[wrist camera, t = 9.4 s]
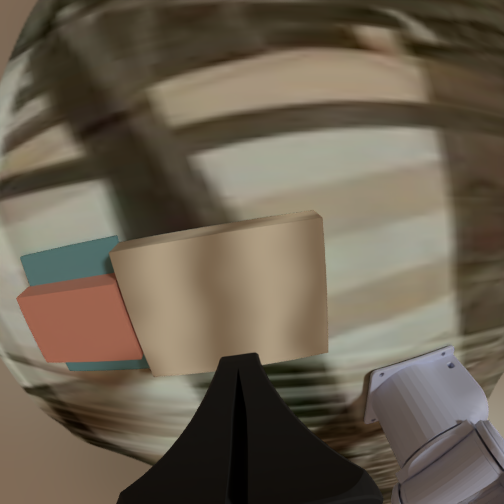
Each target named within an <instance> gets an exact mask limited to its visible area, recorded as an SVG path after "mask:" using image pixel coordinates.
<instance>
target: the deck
mask: <svg viewBox="0 0 504 504" xmlns="http://www.w3.org/2000/svg"><path fill="white" fill-rule="evenodd" d="M109 255H110V259H111V262H112V265H113V269H114V272H115V275H116V278H117V281H118V284H119V287H120V290H121V293H122V296H123V299H124V302H125V305H126V308H127V311H128V314H129V316H130V319H131V322H132V324H133V327H134V330H135V332H136V335H137V337H138V340H139V343H140V345H141V348H142V350H143V352H144V355H145V357H146V360H147V362H148V364H149V367H150V369H151V371H152V374H153V376H154V377H158V376H172V375H184V374H194V373H204V372H213V371H216V369H217V366H218V363H219V360H220V359H221V357H225V356H232V355H239V354H246V353H253V352H256V353H257V354H259V358H260V362H261V364H262V365H264V364H270V363H276V362H282V361H287V360H293V359H298V358H303V357H309V356H314V355H318V354H323V353H328V310H327V284H326V264H325V247H324V233H323V219H322V217H321V216H320V215H319V214H318V213H316V212H315V211H314V210H311V211H304V212H297V213H290V214H284V215H277V216H270V217H264V218H257V219H251V220H244V221H238V222H232V223H226V224H220V225H214V226H208V227H202V228H196V229H190V230H184V231H179V232H173V233H167V234H162V235H156V236H151V237H145V238H140V239H134V240H129V241H124V242H119V243H118V244H117V245H116V246H115V247H114V248H113V249H112V250H111V251H110V252H109Z"/></svg>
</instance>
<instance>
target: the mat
mask: <svg viewBox="0 0 504 504" xmlns="http://www.w3.org/2000/svg"><path fill="white" fill-rule="evenodd" d="M118 243H119V241H118V237H117V236H112V237H107V238H102V239H97V240H92V241H87V242H83V243H78V244H73V245H69V246H64V247H60V248H55V249H51V250H46V251H42V252H37V253H33V254H29V255H25V256H22V257H20V258H21V261H22V264H23V267H24V270H25V273H26V276H27V278H28V281H29V284H30V286H36V285H42V284H48V283H55V282H61V281H67V280H73V279H79V278H85V277H92V276H98V275H104V274H110V273H115V272H114V269H113V265H112V262H111V259H110V255H109V252H110V251H111V250H112V249H113V248H114V247H115V246H116V245H117V244H118ZM65 363H66V364H67V366H68V368H69V370H70V371H97V370H125V369H143V368H150V367H149V364H148V362H147V360H146V357H145V355H144V353H143V356H142V359H137V360H120V361H99V362H65Z"/></svg>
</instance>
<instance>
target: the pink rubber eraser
mask: <svg viewBox="0 0 504 504" xmlns="http://www.w3.org/2000/svg"><path fill="white" fill-rule="evenodd" d="M16 299H17V301H18V304H19V306H20V308H21V311H22V313H23V315H24V317H25V320H26V322H27V324H28V326H29V328H30V330H31V332H32V334H33V336H34V338H35V340H36V342H37V344H38V346H39V348H40V350H41V352H42V354H43V356H44V358H45V359H46V361H47V362H99V361H120V360H137V359H142V356H143V353H144V352H143V350H142V348H141V345H140V343H139V340H138V337H137V335H136V332H135V330H134V327H133V324H132V322H131V319H130V316H129V314H128V311H127V308H126V305H125V302H124V299H123V296H122V293H121V290H120V287H119V284H118V281H117V278H116V275H115V273H110V274H104V275H98V276H92V277H85V278H79V279H73V280H67V281H61V282H55V283H48V284H42V285H36V286H30V287H28V288H27V289H26V290H25V291H23V292H22V293H21V294H20V295H19V296H18V297H17V298H16Z"/></svg>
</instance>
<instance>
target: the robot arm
mask: <svg viewBox="0 0 504 504" xmlns="http://www.w3.org/2000/svg"><path fill="white" fill-rule="evenodd" d="M453 353H454V347H453V346H452V345H450V346H447V347H445V348H442V349H439V350H437V351H434V352H431V353H428V354H425V355H422V356H419V357H416V358H413V359H410V360H407V361H404V362H401V363H398V364H394V365H391V366H388V367H384V368H381V369H377V370H375V371H373V372H372V373H371V375H370V383H369V390H368V397H367V404H366V410H365V416H364V423H365V424H370V423H374V422H377V421H379V423H380V425H381V427H382V429H383V431H384V433H385V435H386V438H387V440H388V442H389V444H390V446H391V448H392V450H393V453H394V455H395V457H396V459H397V461H398V464H399V466H400V468H401V470H400V471H398V472H397V473H396V476H397V479H398V481H399V482H398V483H397V484H396V485H395V486H394V488H393V492H392V497H391V503H392V504H504V439H503V438H502V436H501V435H500V434H499V432H498V431H497V430H496V428H495V427H494V426H493V425H492V423H491V422H490V421H489V420H487V418H488V402H487V399H486V396H485V393H484V391H483V390H482V388H481V387H480V385H479V384H478V383H477V382H476V381H475V379H474V378H473V377H472V376H471V375H470V373H469V372H468V371H467V370H466V369H465V367H464V366H463V365H462V364H461V363H460V362H459V361H458V359H457V358H456V357H455V356H454V355H453ZM382 503H383V496H382V494H381V492H380V490H379V488H378V486H377V485H376V483H375V482H374V481H373V479H372V478H371V477H370V475H369V474H368V473H367V472H366V470H365V469H363V468H361V467H359V466H358V465H356V464H354V463H353V462H351V461H349V460H348V459H346V458H345V457H343V456H342V455H340V454H339V453H337V452H336V451H335V450H333V449H332V448H331V447H329V446H328V445H327V444H326V443H324V442H323V441H322V440H321V439H320V438H318V437H317V436H316V435H315V434H314V433H312V432H311V431H310V430H309V429H308V428H307V427H306V426H305V425H304V424H303V423H302V422H301V421H300V420H299V419H298V417H297V416H296V415H295V414H294V413H293V412H292V411H291V410H290V408H289V407H288V406H287V405H286V403H285V402H284V401H283V399H282V398H281V397H280V395H279V394H278V392H277V391H276V389H275V388H274V386H273V385H272V383H271V382H270V380H269V378H268V376H267V375H266V373H265V371H264V369H263V366H262V364H261V362H260V358H259V354H257V353H256V352H253V353H246V354H239V355H232V356H225V357H221V359H220V360H219V363H218V366H217V369H216V372H215V375H214V377H213V379H212V382H211V384H210V386H209V388H208V390H207V392H206V395H205V397H204V399H203V401H202V402H201V404H200V406H199V408H198V409H197V411H196V413H195V415H194V416H193V418H192V420H191V421H190V423H189V424H188V426H187V427H186V429H185V430H184V431H183V433H182V434H181V435H180V437H179V438H178V439H177V440H176V442H175V443H174V444H173V445H172V447H171V448H170V449H169V450H168V451H167V452H166V454H165V455H164V456H163V457H162V458H161V459H160V460H159V461H158V462H157V463H156V464H155V465H154V466H153V467H151V469H149V470H148V471H147V472H146V473H145V474H144V475H143V476H142V477H140V478H139V479H138V480H137V481H135V482H134V483H133V484H131V485H130V486H129V487H127V488H126V489H125V490H123V491H122V492H121V493H120V495H119V498H118V501H117V503H116V504H382Z"/></svg>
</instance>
